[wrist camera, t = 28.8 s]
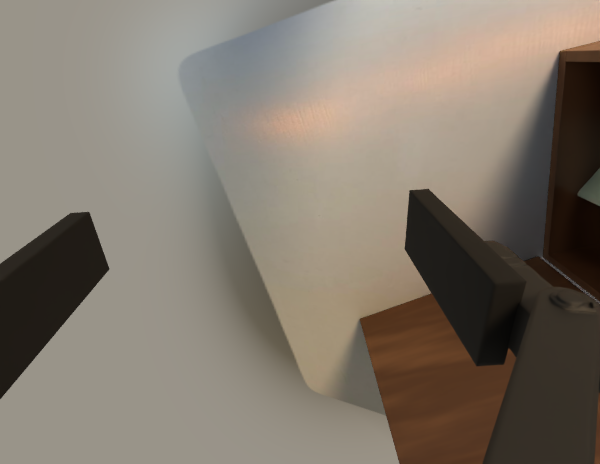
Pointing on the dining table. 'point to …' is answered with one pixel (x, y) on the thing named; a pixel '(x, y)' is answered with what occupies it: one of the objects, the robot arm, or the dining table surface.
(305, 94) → the dining table surface
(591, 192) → the planter
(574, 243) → the cupboard
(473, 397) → the cupboard door
